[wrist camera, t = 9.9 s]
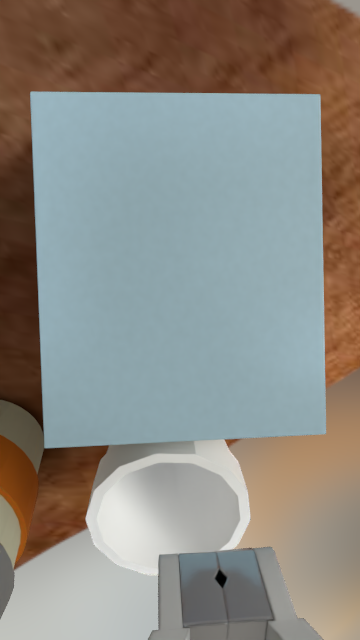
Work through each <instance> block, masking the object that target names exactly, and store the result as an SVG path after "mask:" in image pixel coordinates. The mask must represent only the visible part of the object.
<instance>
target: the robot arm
mask: <svg viewBox="0 0 360 640" xmlns="http://www.w3.org/2000/svg"><path fill="white" fill-rule="evenodd" d="M158 595H159V596H158V610H159V611H158V615H159V616H158V618H159V620H158V621H159V630H153V631H152V632H151V634H150V637H149V638H148V640H323V639H322V637H321V636H320V635H319V634H318V633H317V632H316V631H315V630H314V629H313V628H312V627H311V626H310V625H309V623H308V622H307V621H306V620H305V619H304V618H297V615H296V612H295V609H294V607H293V604H292V601H291V598H290V595H289V592H288V589H287V586H286V583H285V580H284V578H283V575H282V572H281V569H280V566H279V563H278V560H277V557H276V554H275V551H274V550H273V549H272V547H263V548H253V549H252V548H243V549H232V550H221V551H215V552H199V553H179V554H178V553H176V554H162V555H159V560H158Z"/></svg>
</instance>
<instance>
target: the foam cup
mask: <svg viewBox="0 0 360 640" xmlns="http://www.w3.org/2000/svg"><path fill="white" fill-rule="evenodd" d="M250 520H251V519H250V509H249V498H248V491H247V488H246V484H245V481H244V478H243V475H242V472H241V468H240V465H239V462H238V461H237V459H236V458H235V457H234V456H233V454H232V453H231V452H230V451H229V449H228V447H227V445H226V443H225V440H224V439H219V440H199V441H180V442H160V443H141V444H121V445H109V448H108V450H107V453H106V455H105V456H104V457H103V458H102V459H101V460H100V463H99V467H98V470H97V473H96V477H95V480H94V483H93V487H92V492H91V496H90V501H89V505H88V510H87V514H86V522H87V525H88V528H89V531H90V534H91V537H92V540H93V544H94V546H96V547H97V548H98V549H99V550H100V551H101V552H102V553H103V554H104V555H106V556H107V557H108V558H109V559H110V560H111V561H112V562H114V563H115V564H116V565H118V566H121V567H124V568H127V569H130V570H133V571H136V572H140V573H142V574H145V575H158V560H159V555H162V554H176V553H178V554H179V553H199V552H215V551H221V550H232V549H233V548H234V547H235V546H237V545H238V543H239V541H240V539H241V537H242V535H243V534H244V532H245V530H246V528H247V526H248V524H249V522H250Z"/></svg>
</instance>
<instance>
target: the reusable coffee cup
mask: <svg viewBox="0 0 360 640" xmlns="http://www.w3.org/2000/svg"><path fill="white" fill-rule="evenodd" d="M43 450H44V435H43V432H42V429H41V427H40V425H39V424H38V422H37V421H36V419H35V418H34V417H33V416H32V415H31V414H30V413H29V412H27V411H26V410H24V409H23V408H21V407H19V406H17V405H15V404H13V403H10V402H7V401H3V400H0V618H1V616H2V614H3V612H4V610H5V608H6V606H7V604H8V601H9V599H10V596H11V594H12V591H13V588H14V570H13V568H14V564H15V563H16V562H17V561H18V559H19V558H20V556H21V555H22V553H23V550H24V547H25V544H26V541H27V537H28V533H29V529H30V524H31V520H32V516H33V512H34V508H35V503H36V499H37V495H38V485H39V482H38V477H37V474H38V470H39V466H40V462H41V458H42V454H43Z"/></svg>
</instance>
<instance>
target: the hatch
mask: <svg viewBox="0 0 360 640" xmlns="http://www.w3.org/2000/svg"><path fill="white" fill-rule="evenodd" d="M30 101H31V126H32V151H33V177H34V202H35V227H36V252H37V277H38V302H39V327H40V353H41V378H42V403H43V428H44V448H62V447H82V446H101V445H121V444H141V443H160V442H180V441H199V440H219V439H238V438H257V437H278V436H296V435H317V434H326V405H325V404H326V403H325V344H324V285H323V227H322V168H321V110H320V94H229V93H118V92H30Z"/></svg>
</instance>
